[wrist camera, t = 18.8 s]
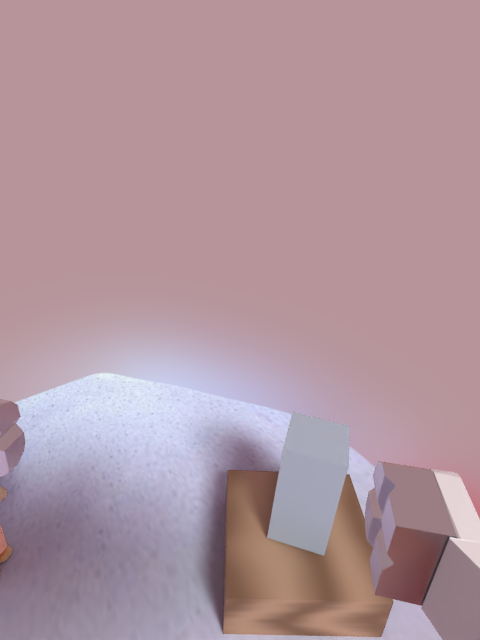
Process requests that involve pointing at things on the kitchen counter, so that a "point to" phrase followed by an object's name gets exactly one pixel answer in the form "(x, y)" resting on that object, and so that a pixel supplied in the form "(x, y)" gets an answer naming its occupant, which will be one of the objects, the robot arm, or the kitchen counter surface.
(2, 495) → the grandmother figurine
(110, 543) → the kitchen counter surface
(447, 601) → the robot arm
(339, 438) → the slate pillar block
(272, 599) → the walnut block
